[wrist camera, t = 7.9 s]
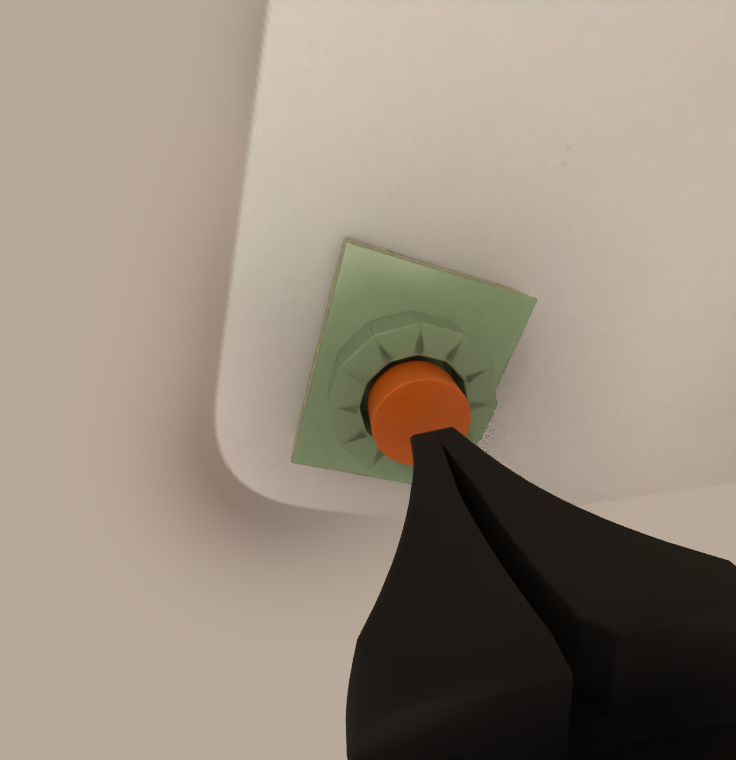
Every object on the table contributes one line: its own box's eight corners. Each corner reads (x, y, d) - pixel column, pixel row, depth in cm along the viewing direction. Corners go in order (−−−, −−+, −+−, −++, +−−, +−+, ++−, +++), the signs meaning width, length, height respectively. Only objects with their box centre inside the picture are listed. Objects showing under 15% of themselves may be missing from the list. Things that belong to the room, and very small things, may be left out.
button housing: (437, 463, 20) (460, 517, 17) (295, 437, 19) (286, 490, 15) (513, 288, 17) (564, 310, 13) (344, 237, 15) (347, 245, 12)
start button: (438, 446, 16) (450, 473, 14) (356, 431, 15) (359, 456, 13) (470, 371, 14) (487, 391, 13) (382, 349, 14) (389, 368, 12)
